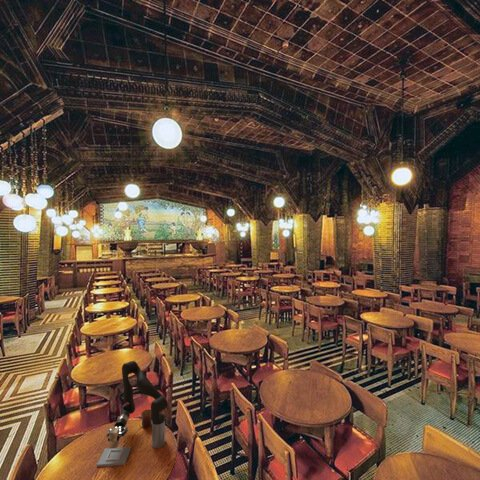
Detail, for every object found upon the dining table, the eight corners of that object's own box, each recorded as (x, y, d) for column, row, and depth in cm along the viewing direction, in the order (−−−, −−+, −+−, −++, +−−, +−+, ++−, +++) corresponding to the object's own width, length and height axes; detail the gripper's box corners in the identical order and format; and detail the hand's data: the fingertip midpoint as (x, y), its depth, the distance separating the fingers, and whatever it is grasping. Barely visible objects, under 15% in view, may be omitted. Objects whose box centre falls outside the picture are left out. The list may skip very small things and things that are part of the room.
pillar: (119, 442, 192) (119, 427, 192) (116, 448, 187) (116, 432, 187) (111, 443, 192) (112, 427, 192) (109, 448, 187) (109, 433, 187)
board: (130, 448, 197) (130, 445, 197) (124, 464, 183) (124, 461, 183) (105, 450, 196) (105, 447, 196) (96, 466, 182) (96, 463, 182)
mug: (142, 430, 216) (142, 417, 216) (140, 423, 223) (140, 411, 223) (157, 424, 223) (157, 412, 222) (154, 418, 230) (154, 406, 230)
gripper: (111, 418, 203) (102, 435, 186) (131, 417, 204) (123, 434, 187) (111, 428, 203) (102, 446, 186) (131, 427, 205) (123, 444, 188)
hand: (113, 439), depth 187 cm, fingers closed on pillar, 5 cm apart
